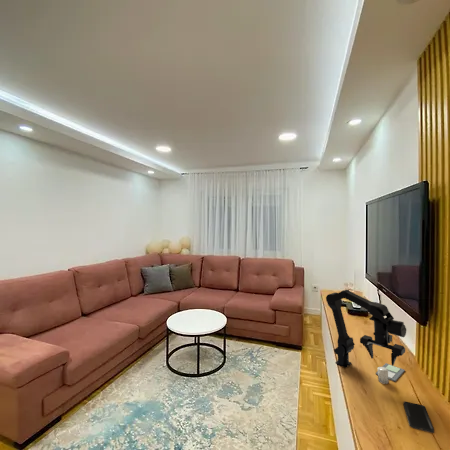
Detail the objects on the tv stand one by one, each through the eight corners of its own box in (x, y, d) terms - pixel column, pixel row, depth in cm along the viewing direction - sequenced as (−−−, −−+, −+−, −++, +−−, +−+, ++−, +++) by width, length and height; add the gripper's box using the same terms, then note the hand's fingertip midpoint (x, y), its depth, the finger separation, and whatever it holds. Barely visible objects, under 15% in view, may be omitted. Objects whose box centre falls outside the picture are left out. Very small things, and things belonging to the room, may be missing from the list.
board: (395, 381, 127) (395, 380, 127) (375, 374, 134) (375, 372, 134) (404, 370, 136) (404, 369, 136) (385, 364, 143) (385, 362, 143)
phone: (424, 405, 109) (434, 431, 96) (424, 408, 109) (435, 434, 96) (402, 400, 113) (409, 425, 99) (402, 403, 113) (409, 427, 99)
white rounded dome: (386, 385, 125) (385, 372, 125) (376, 381, 128) (376, 369, 128) (390, 381, 128) (389, 369, 128) (380, 377, 131) (379, 365, 131)
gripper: (408, 331, 126) (409, 363, 126) (368, 321, 140) (369, 349, 140) (400, 338, 119) (401, 372, 119) (358, 327, 133) (360, 357, 133)
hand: (382, 361), depth 128 cm, fingers open, 9 cm apart
